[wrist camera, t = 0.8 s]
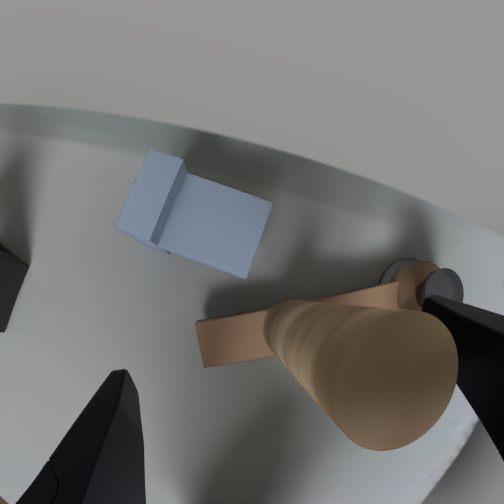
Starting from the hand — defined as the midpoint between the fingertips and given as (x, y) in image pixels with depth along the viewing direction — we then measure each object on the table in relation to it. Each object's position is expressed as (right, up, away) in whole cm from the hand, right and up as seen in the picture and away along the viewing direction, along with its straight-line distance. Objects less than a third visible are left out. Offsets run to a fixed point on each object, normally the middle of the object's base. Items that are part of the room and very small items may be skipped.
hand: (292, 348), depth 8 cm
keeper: (-4, +5, +13) cm, 15 cm away
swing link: (+4, -2, +13) cm, 13 cm away
